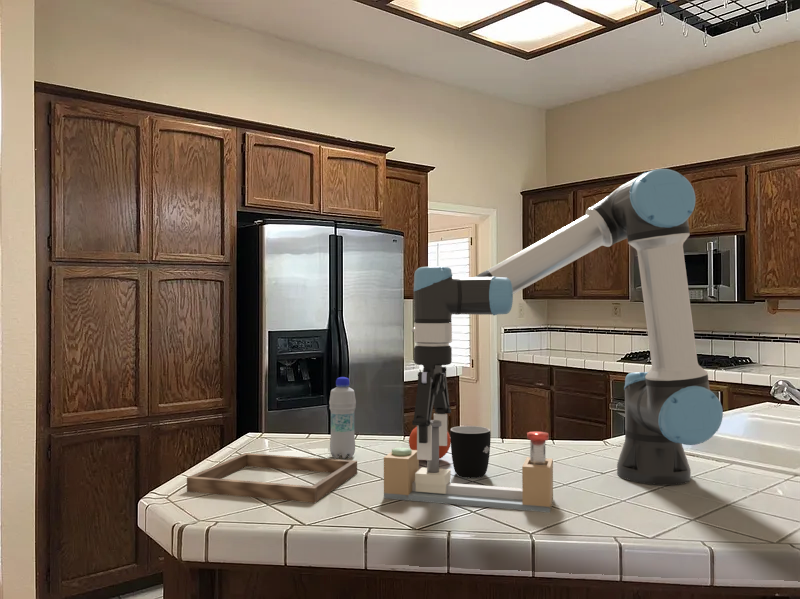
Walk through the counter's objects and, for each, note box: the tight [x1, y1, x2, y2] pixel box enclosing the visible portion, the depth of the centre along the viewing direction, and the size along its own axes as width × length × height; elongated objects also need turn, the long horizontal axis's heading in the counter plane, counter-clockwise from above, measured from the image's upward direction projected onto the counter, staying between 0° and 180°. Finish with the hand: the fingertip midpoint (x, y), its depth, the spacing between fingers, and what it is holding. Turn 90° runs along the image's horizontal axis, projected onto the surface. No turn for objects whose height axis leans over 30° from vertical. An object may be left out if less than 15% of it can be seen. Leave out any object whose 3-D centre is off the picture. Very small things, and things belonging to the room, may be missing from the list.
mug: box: [449, 425, 492, 479], centre depth 150 cm, size 12×9×10 cm
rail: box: [383, 447, 554, 513], centre depth 130 cm, size 32×8×9 cm, turn 73°
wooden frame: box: [186, 452, 358, 504], centre depth 143 cm, size 28×23×3 cm
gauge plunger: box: [526, 431, 550, 465], centre depth 126 cm, size 4×4×9 cm
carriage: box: [415, 419, 452, 494], centre depth 132 cm, size 6×5×14 cm
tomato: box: [408, 426, 451, 462], centre depth 162 cm, size 10×10×10 cm
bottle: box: [328, 376, 357, 460], centre depth 166 cm, size 7×7×20 cm
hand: (432, 452), depth 132 cm, fingers open, 12 cm apart
